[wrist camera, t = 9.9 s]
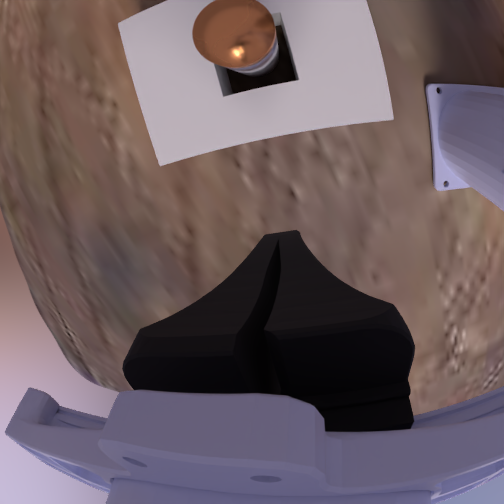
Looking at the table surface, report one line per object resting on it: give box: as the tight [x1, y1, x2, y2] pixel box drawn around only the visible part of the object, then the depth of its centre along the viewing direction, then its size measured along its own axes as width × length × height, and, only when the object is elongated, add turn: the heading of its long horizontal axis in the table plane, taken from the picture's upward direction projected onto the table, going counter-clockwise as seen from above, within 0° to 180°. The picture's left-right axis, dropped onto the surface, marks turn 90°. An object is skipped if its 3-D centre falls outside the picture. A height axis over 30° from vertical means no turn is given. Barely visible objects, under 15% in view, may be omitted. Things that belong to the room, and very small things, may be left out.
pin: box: [192, 0, 279, 77], centre depth 12 cm, size 3×3×9 cm
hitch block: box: [118, 0, 394, 166], centre depth 15 cm, size 14×10×4 cm
